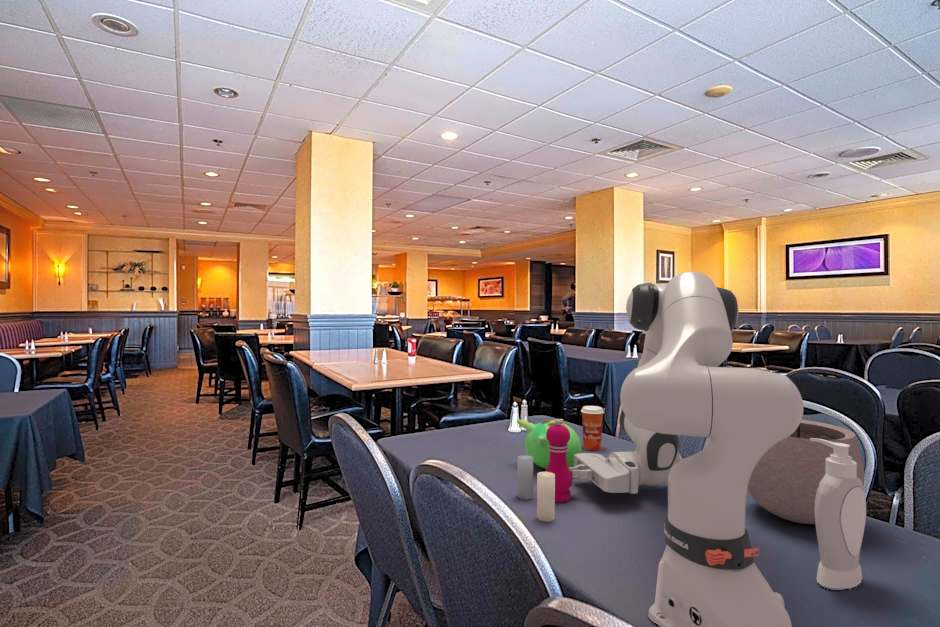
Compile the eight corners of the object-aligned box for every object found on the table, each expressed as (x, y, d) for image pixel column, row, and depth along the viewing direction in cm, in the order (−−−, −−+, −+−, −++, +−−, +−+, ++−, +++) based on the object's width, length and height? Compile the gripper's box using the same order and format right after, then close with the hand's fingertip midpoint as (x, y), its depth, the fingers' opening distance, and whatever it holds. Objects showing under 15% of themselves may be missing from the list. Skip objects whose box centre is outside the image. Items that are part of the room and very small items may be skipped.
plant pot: (783, 492, 129) (785, 377, 129) (889, 531, 107) (891, 392, 106) (714, 505, 120) (715, 382, 120) (814, 550, 98) (816, 400, 98)
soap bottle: (829, 560, 94) (831, 433, 94) (877, 580, 87) (879, 443, 87) (787, 575, 89) (788, 441, 89) (834, 598, 82) (835, 452, 82)
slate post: (535, 499, 124) (535, 459, 124) (519, 500, 123) (519, 460, 123) (530, 493, 128) (530, 454, 128) (515, 494, 127) (515, 455, 127)
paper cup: (579, 450, 166) (580, 409, 166) (581, 444, 173) (581, 404, 173) (603, 452, 164) (604, 410, 163) (604, 446, 171) (604, 406, 171)
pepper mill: (554, 505, 120) (555, 423, 120) (537, 495, 127) (538, 417, 126) (578, 500, 124) (578, 420, 123) (560, 490, 130) (560, 414, 130)
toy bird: (592, 474, 143) (592, 423, 142) (541, 481, 136) (541, 428, 136) (558, 456, 159) (559, 411, 159) (512, 462, 153) (512, 415, 153)
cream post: (557, 521, 111) (557, 476, 111) (540, 522, 111) (540, 478, 111) (551, 513, 115) (551, 471, 115) (534, 515, 115) (534, 472, 114)
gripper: (603, 446, 138) (556, 448, 136) (640, 470, 118) (586, 473, 116) (603, 468, 138) (556, 471, 136) (640, 496, 118) (586, 500, 116)
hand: (570, 472), depth 126 cm, fingers closed
